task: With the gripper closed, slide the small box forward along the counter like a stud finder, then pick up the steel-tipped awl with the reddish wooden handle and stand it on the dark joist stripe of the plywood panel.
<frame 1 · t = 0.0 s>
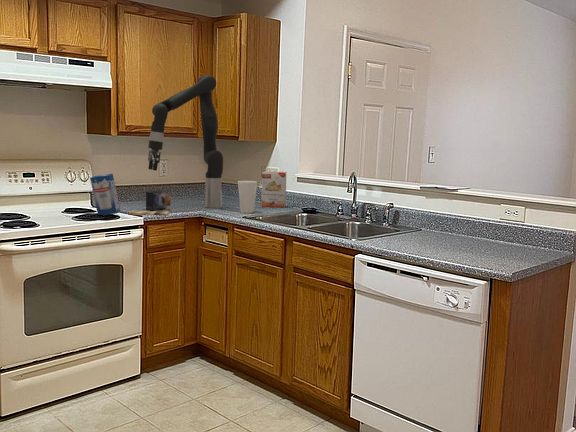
hand: (152, 169, 334), 22 cm above the worktop, tool pointing down, fingers open, 8 cm apart
small box: (156, 210, 339), on the worktop
cracker box: (273, 207, 361), on the worktop
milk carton: (109, 214, 313), point 1 cm above the worktop
cup: (247, 212, 335), on the worktop
panel: (149, 213, 322), on the worktop
awl: (167, 212, 330), on the worktop
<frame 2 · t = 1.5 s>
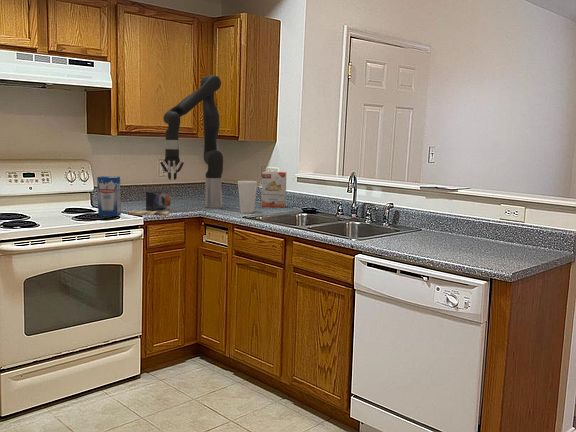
hand: (172, 179, 337), 17 cm above the worktop, tool pointing down, fingers closed
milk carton: (109, 215, 314), on the worktop
everything else where it was.
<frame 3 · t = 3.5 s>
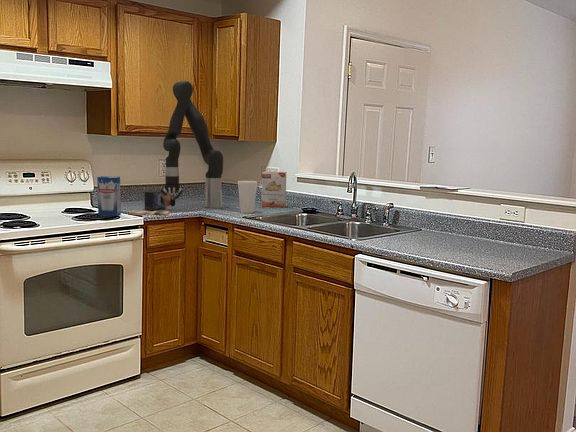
hand: (172, 206, 339), 2 cm above the worktop, tool pointing down, fingers closed
small box: (155, 209, 339), on the worktop, touching hand
everything else where it was.
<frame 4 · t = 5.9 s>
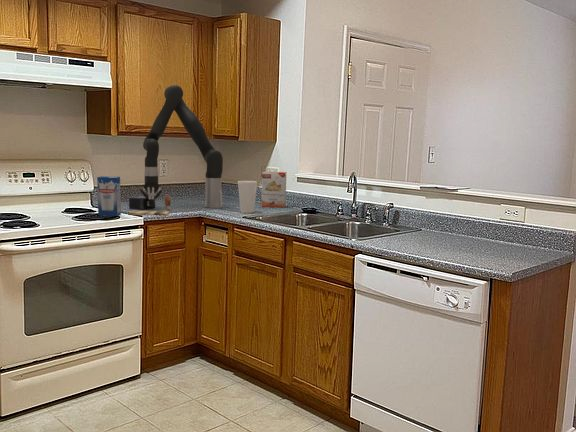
hand: (151, 205, 339), 2 cm above the worktop, tool pointing down, fingers closed
small box: (149, 203, 341), point 3 cm above the worktop, touching gripper
everything else where it was.
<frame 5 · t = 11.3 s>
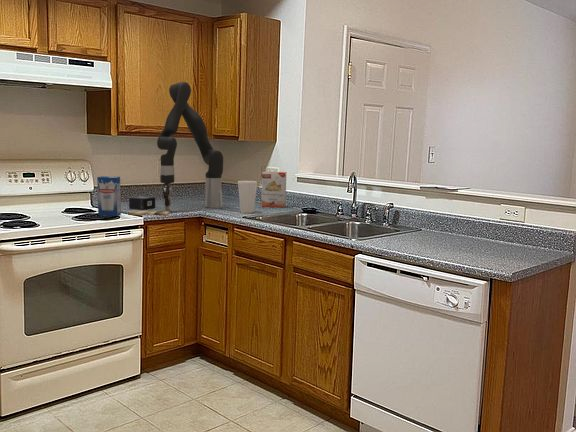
hand: (167, 205, 330), 4 cm above the worktop, tool pointing down, fingers closed on awl, 3 cm apart
small box: (149, 203, 341), point 3 cm above the worktop
awl: (167, 212, 330), on the worktop, touching gripper
everything else where it was.
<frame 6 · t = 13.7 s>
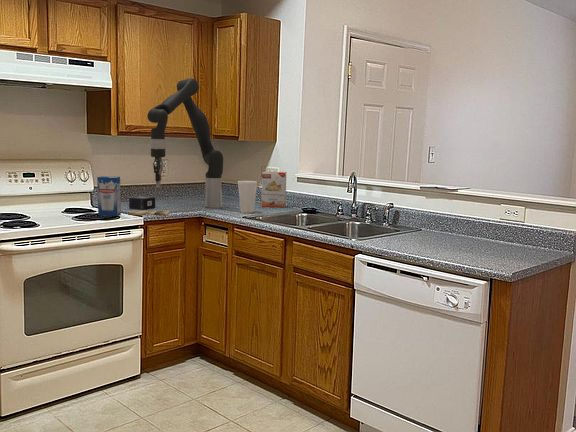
hand: (158, 180, 319), 18 cm above the worktop, tool pointing down, fingers closed on awl, 3 cm apart
awl: (158, 187, 320), point 14 cm above the worktop, touching gripper
everything else where it was.
when the fingers open (5 cm above the worktop, at t = 16.1 s): awl stays where it is, resting on panel.
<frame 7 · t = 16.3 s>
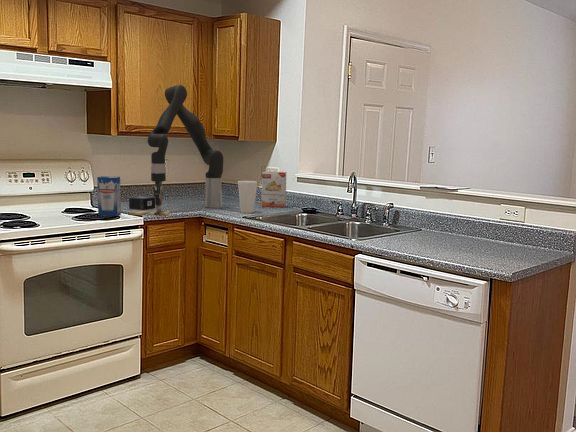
hand: (158, 204, 321), 5 cm above the worktop, tool pointing down, fingers open, 4 cm apart
awl: (158, 212, 322), point 1 cm above the worktop, touching panel
everything else where it was.
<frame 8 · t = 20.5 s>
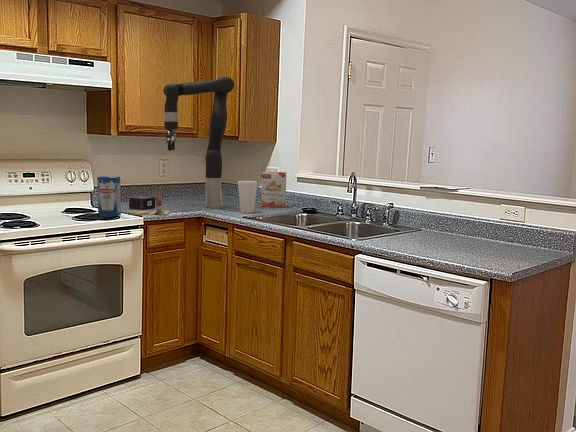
hand: (171, 150, 337), 33 cm above the worktop, tool pointing down, fingers open, 8 cm apart
nothing on the worktop moved.
at the end: small box inside the target area (5.2 cm from its centre), point 3.3 cm above the worktop; awl inside the target area on the panel (0.1 cm from its centre), point 1.0 cm above the panel's base; awl tilted 0° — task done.
